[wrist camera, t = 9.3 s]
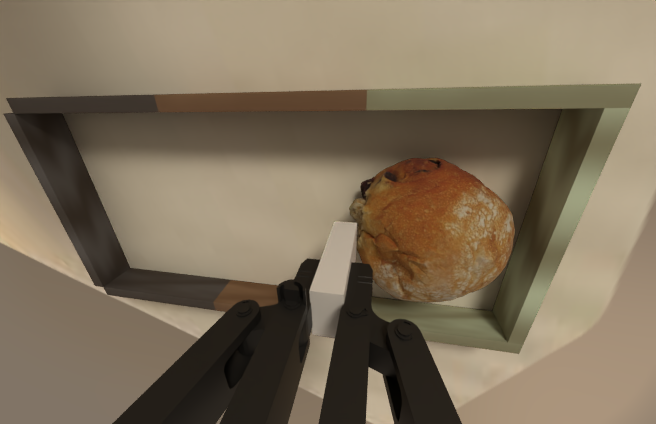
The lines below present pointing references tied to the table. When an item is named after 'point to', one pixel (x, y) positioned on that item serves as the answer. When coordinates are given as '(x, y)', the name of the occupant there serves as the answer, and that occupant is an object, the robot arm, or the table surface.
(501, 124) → the table surface
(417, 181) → the bread roll
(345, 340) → the robot arm
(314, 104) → the multicolored rectangular frame
